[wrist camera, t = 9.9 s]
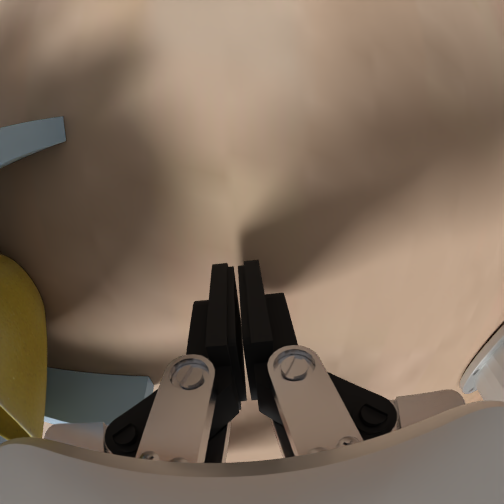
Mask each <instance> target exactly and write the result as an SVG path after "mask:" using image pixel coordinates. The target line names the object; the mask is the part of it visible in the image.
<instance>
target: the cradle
mask: <svg viewBox="0 0 504 504" xmlns="http://www.w3.org/2000/svg"><path fill="white" fill-rule="evenodd" d="M65 141H66V136H65V128H64V120H63V116H62V117H54V118H48V119H41V120H35V121H30V122H25V123H20V124H15V125H10V126H6V127H2V128H0V168H2V167H4V166H7V165H9V164H11V163H13V162H15V161H17V160H19V159H22V158H24V157H26V156H29V155H31V154H33V153H36V152H38V151H41V150H43V149H46V148H48V147H51V146H54V145H56V144H59V143H62V142H65ZM153 388H154V385H153V383H152V382H151V380H150V378H149V376H124V375H108V374H96V373H86V372H77V371H69V370H62V369H55V368H49V367H47V385H46V402H45V415H44V422H48V423H51V424H59V423H92V422H104V423H105V424H110V423H111V422H112V421H113V420H114V419H116V418H117V417H119V416H120V415H122V414H123V413H125V412H126V411H128V410H129V409H130V408H132V407H133V406H135V405H136V404H138V403H139V402H141V401H142V400H143V399H145V398H146V397H148V396H149V395H150V394H152V393H153ZM5 441H8V440H6V439H5V438H3V437H2V436H0V444H1V443H3V442H5Z"/></svg>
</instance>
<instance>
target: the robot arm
mask: <svg viewBox="0 0 504 504" xmlns="http://www.w3.org/2000/svg"><path fill="white" fill-rule="evenodd" d="M238 274H239V292H240V309H241V318H240V311H239V304H238V296H237V289H236V281H235V274H234V267H233V266H232V267H228V264H227V263H223V264H213V265H212V272H211V283H210V293H209V300H203V301H195V302H194V304H193V310H192V317H191V323H190V330H189V337H188V345H187V352H186V355H184V356H180V357H178V358H176V359H175V360H173V361H172V362H171V363H170V364H169V365H168V366H167V368H166V370H165V371H164V374H163V377H162V380H161V383H160V385H159V388H158V389H157V390H156V391H155V392H153V393H152V394H150V395H149V396H148V397H146V398H145V399H143V400H142V401H141V402H139V403H138V404H136V405H135V406H133V407H132V408H130V409H129V410H128V411H126V412H125V413H123V414H122V415H120V416H119V417H117V418H116V419H114V420H113V421H112V422H111V423H110V424H105V423H104V422H92V423H59V424H54V425H52V426H51V427H49V429H48V430H47V431H46V433H45V437H44V439H42V438H34V437H22V438H15V439H11V440H8V441H5V442H3V443H1V444H0V504H504V324H503V325H502V327H501V328H500V329H499V330H498V331H497V332H496V333H495V334H494V335H493V336H492V338H491V339H490V340H489V341H488V342H487V343H486V345H485V346H484V347H483V348H482V349H481V351H480V352H479V353H478V354H477V356H476V357H475V358H474V360H473V361H472V362H471V364H470V365H469V366H468V368H467V369H466V371H465V373H464V374H463V376H462V378H461V381H460V388H461V390H462V392H463V393H464V394H469V393H472V392H474V391H476V390H478V391H479V393H480V395H481V396H482V398H483V400H484V401H478V402H472V403H468V404H465V401H464V399H463V397H462V396H461V395H460V394H459V393H458V392H456V391H454V390H441V391H435V392H429V393H422V394H415V395H407V396H399V397H396V399H395V400H388V399H386V398H384V397H382V396H380V395H378V394H375V393H373V392H371V391H368V390H366V389H364V388H361V387H359V386H357V385H355V384H352V383H350V382H348V381H346V380H344V379H341V378H339V377H337V376H335V375H333V374H331V373H329V372H327V371H326V369H325V367H324V365H323V363H322V362H321V360H320V358H319V356H318V355H317V354H316V353H315V352H314V351H313V350H311V349H310V348H307V347H304V346H299V345H298V344H297V340H296V336H295V332H294V329H293V325H292V321H291V318H290V314H289V310H288V307H287V303H286V299H285V296H284V293H275V294H266V295H265V294H264V288H263V283H262V277H261V272H260V266H259V261H258V260H253V261H244V265H242V266H238ZM241 325H242V326H241ZM242 339H243V341H242ZM243 348H244V355H245V362H246V368H247V375H248V381H249V387H250V393H251V399H252V400H258V405H259V411H260V412H261V413H263V414H265V415H266V416H268V417H269V418H271V423H272V426H273V429H274V432H275V435H276V438H277V441H278V444H279V447H280V450H281V453H282V456H283V458H281V459H273V460H264V461H252V462H237V463H226V457H227V450H228V443H229V436H230V429H231V420H232V419H233V418H234V417H235V416H236V415H237V414H238V413H239V410H241V401H246V400H247V398H246V384H245V370H244V356H243Z"/></svg>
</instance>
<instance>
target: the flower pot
mask: <svg viewBox="0 0 504 504" xmlns="http://www.w3.org/2000/svg"><path fill="white" fill-rule="evenodd" d="M46 385H47V332H46V318H45V309H44V304H43V301H42V298H41V296H40V294H39V291H38V289H37V288H36V286H35V284H34V283H33V281H32V280H31V278H30V277H29V276H28V274H27V273H26V272H25V271H24V270H23V269H22V268H21V267H20V266H19V265H18V264H17V263H16V262H15V261H13V260H12V259H10V258H9V257H7V256H5V255H2V254H0V436H2V437H3V438H5V439H6V440H11V439H15V438H22V437H34V438H42V433H43V424H44V415H45V402H46Z"/></svg>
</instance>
